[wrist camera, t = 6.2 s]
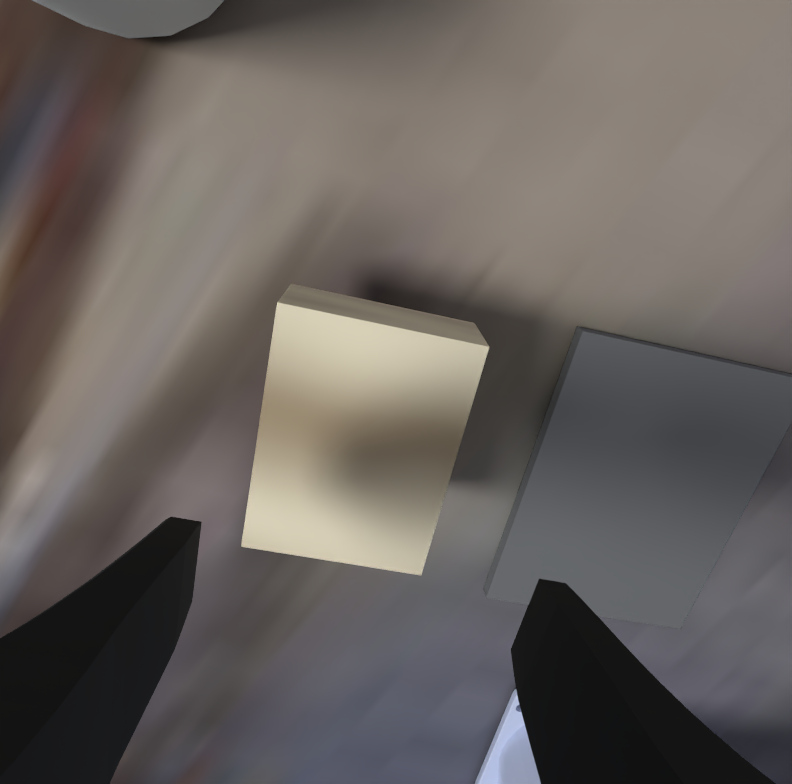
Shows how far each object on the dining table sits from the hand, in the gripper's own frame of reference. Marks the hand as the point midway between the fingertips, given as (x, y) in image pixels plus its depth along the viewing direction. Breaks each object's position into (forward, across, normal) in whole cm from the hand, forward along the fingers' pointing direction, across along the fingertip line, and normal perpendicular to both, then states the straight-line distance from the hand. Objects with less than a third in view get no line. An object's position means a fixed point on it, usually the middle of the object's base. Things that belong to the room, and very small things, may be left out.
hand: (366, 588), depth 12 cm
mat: (+10, -11, +2) cm, 15 cm away
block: (+7, 0, -1) cm, 7 cm away
